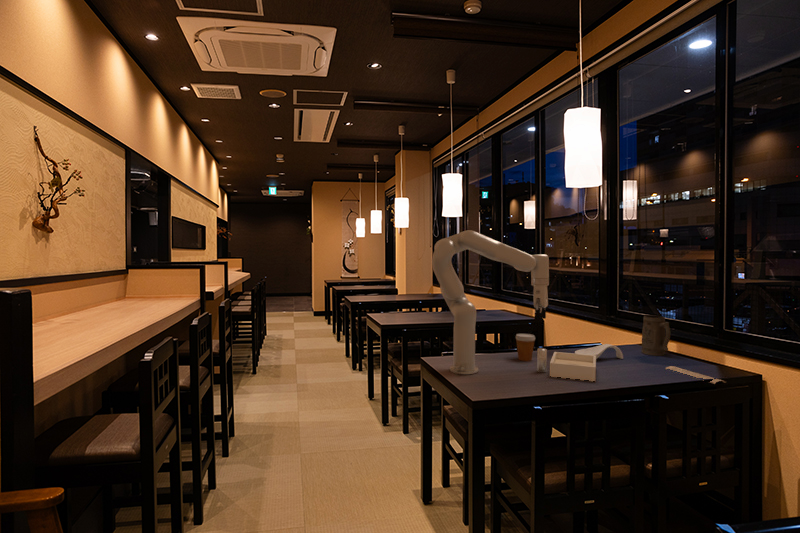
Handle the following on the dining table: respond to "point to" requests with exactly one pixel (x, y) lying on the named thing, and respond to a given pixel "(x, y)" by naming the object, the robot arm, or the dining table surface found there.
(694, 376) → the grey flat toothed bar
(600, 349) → the spoon rest
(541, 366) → the small plastic bottle
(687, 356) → the dining table surface
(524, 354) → the disposable coffee cup
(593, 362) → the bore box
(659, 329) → the beer stein
